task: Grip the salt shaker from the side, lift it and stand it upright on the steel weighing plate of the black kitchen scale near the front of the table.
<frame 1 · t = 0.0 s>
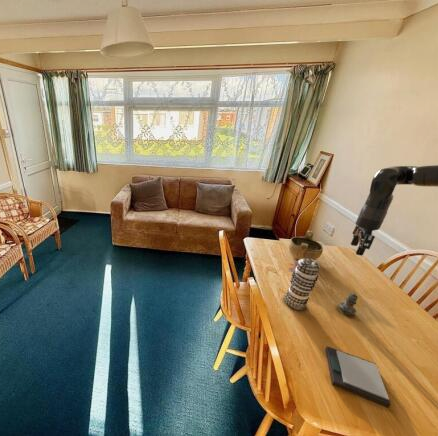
hand: (356, 249, 99), 28 cm above the table, tool pointing down, fingers open, 8 cm apart
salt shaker: (344, 313, 103), on the table
decorative candle: (294, 305, 107), on the table
ceramic bowl: (301, 258, 142), on the table
lily: (298, 276, 126), on the table
scale: (352, 377, 78), on the table
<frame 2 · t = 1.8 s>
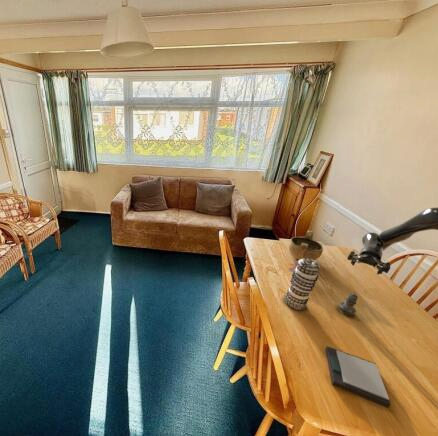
hand: (365, 268, 101), 20 cm above the table, tool horizontal, fingers open, 8 cm apart
nothing on the table moved.
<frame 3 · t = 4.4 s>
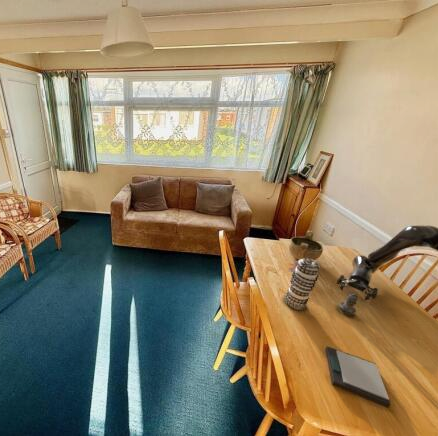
hand: (353, 293, 104), 7 cm above the table, tool horizontal, fingers open, 8 cm apart
nothing on the table moved.
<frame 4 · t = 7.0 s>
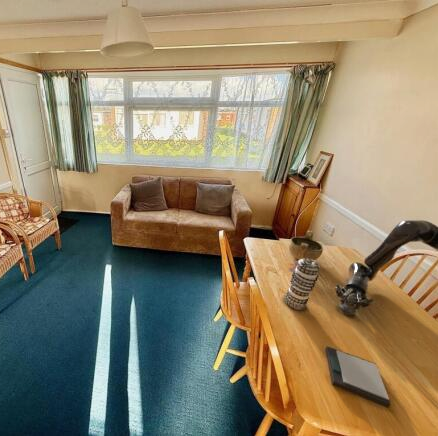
hand: (349, 305, 98), 7 cm above the table, tool horizontal, fingers closed on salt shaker, 3 cm apart
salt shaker: (344, 313, 103), on the table, touching gripper
everything else where it was.
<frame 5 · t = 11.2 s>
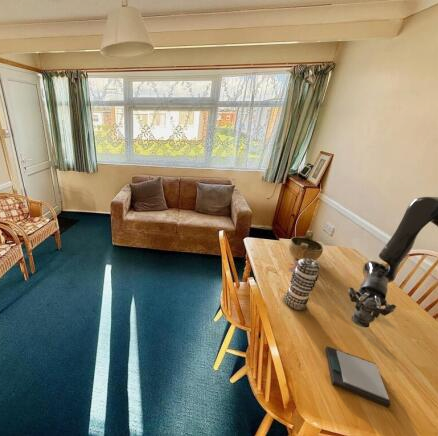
hand: (366, 312, 81), 18 cm above the table, tool horizontal, fingers closed on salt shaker, 3 cm apart
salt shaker: (359, 321, 86), point 10 cm above the table, touching gripper
everything else where it was.
when the fingers open (11 cm above the table, at t = 15.6 s): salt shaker stays where it is, resting on scale.
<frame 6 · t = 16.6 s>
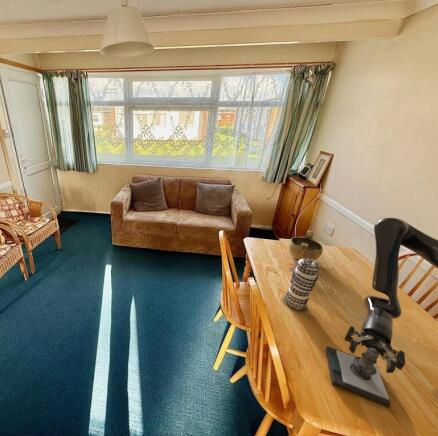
hand: (370, 360, 72), 12 cm above the table, tool horizontal, fingers open, 8 cm apart
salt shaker: (359, 372, 76), point 3 cm above the table, touching scale
everything else where it was.
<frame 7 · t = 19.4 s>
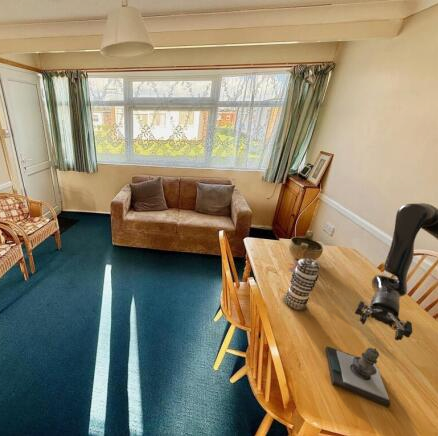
hand: (380, 329, 78), 15 cm above the table, tool horizontal, fingers open, 8 cm apart
nothing on the table moved.
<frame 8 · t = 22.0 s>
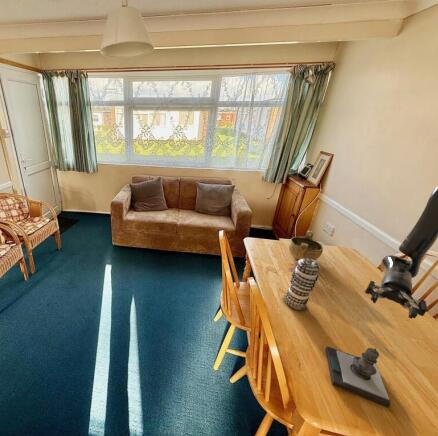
hand: (392, 308, 74), 25 cm above the table, tool horizontal, fingers open, 8 cm apart
nothing on the table moved.
at the end: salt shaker inside the target area on the scale (0.2 cm from its centre), point 3.4 cm above the scale's base; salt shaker tilted 0°; the gripper is holding nothing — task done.
